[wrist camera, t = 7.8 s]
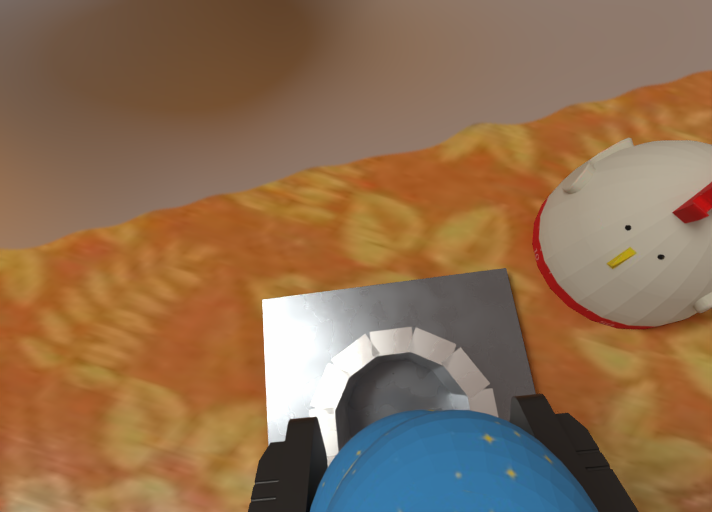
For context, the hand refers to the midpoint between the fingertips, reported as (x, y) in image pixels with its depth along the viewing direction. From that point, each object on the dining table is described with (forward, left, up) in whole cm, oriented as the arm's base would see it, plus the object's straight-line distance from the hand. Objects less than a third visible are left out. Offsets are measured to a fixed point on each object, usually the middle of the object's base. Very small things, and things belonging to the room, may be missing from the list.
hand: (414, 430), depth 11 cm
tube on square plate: (0, -1, -22) cm, 22 cm away
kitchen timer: (+20, +10, -22) cm, 32 cm away
